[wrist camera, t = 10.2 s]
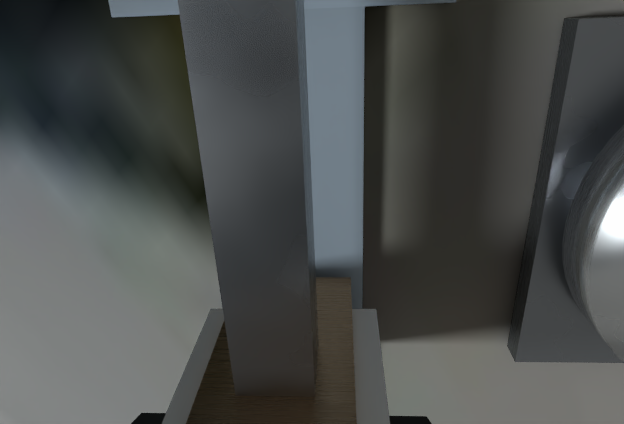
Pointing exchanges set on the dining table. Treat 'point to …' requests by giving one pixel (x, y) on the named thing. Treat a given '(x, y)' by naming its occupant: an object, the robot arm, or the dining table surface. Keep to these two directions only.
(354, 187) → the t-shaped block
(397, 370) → the dining table surface
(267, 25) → the post in wooden base
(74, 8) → the dining table surface
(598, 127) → the wheel stand
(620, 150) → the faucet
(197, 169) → the dining table surface
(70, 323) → the dining table surface
